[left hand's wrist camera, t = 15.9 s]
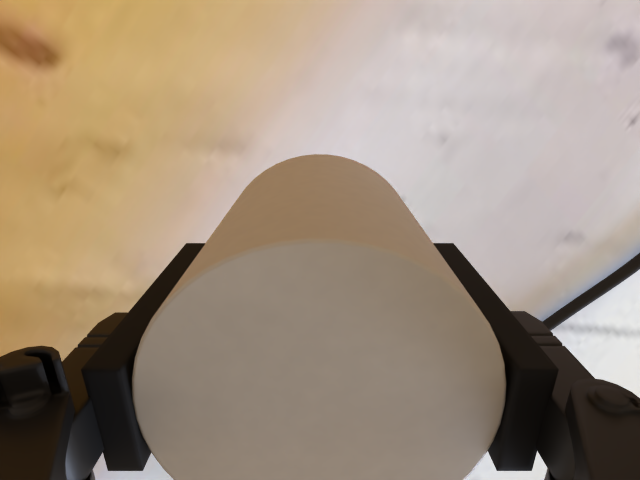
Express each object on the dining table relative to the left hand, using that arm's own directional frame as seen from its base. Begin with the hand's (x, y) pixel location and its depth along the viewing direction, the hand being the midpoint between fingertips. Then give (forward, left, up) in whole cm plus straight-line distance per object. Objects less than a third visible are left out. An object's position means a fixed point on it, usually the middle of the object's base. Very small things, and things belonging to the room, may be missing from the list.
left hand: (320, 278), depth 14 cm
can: (0, 0, -3) cm, 3 cm away
